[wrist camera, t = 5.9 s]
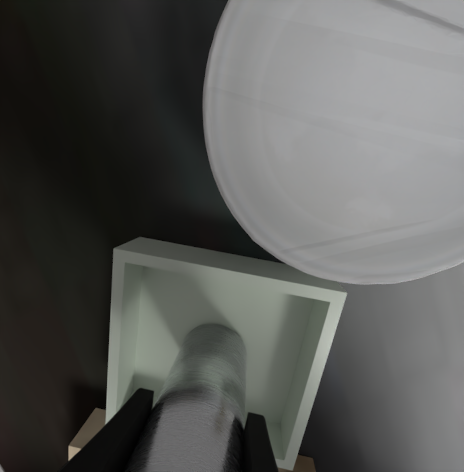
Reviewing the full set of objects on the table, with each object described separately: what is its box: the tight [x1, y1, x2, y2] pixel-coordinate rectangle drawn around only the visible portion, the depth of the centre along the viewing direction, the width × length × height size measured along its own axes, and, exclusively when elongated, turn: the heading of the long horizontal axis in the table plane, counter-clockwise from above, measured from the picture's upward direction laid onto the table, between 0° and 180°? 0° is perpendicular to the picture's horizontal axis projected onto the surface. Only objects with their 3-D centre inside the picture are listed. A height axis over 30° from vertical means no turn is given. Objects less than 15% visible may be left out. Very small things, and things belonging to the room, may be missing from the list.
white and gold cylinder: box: [123, 324, 247, 472], centre depth 10 cm, size 4×4×8 cm
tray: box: [105, 237, 347, 471], centre depth 13 cm, size 11×11×3 cm
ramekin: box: [203, 0, 464, 285], centre depth 9 cm, size 11×11×5 cm
